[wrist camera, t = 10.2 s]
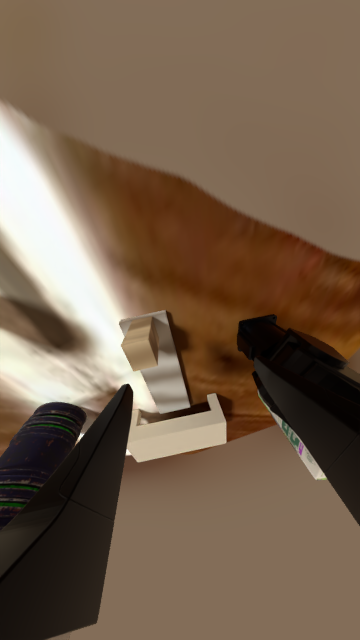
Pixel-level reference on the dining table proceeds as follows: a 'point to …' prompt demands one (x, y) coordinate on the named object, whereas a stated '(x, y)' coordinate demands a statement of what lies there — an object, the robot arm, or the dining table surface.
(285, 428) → the syrup box
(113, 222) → the dining table surface
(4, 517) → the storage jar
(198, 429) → the cream bridge block
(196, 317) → the dining table surface
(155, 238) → the dining table surface
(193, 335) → the dining table surface
